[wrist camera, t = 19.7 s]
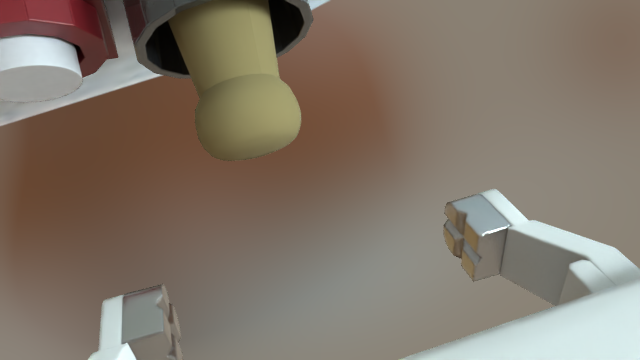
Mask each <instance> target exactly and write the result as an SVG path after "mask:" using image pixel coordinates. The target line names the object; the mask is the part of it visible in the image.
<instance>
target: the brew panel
mask: <svg viewBox="0 0 640 360" xmlns="http://www.w3.org/2000/svg"><path fill="white" fill-rule="evenodd" d="M23 34H36V35H46V36H55V37H60V38H63V39H65V40H67V41H69V42H71V43H72V44H73V45H74V46H75V49H76V53H77V57H78V61H79V66H80V70H81V74H82V78H83V77H86V76H88V75H91V74H93V73H95V72H96V71H97V70H98V69H99V68H100V67H101V65H102V64H103V63H104V62H105V61H106V60H107V59H112V58H118V53H117V49H116V45H115V41H114V36H113V32H112V28H111V24H110V21H109V18H108V14H107V11H106V8H105V4H104V1H103V0H0V37H7V36H15V35H23Z"/></svg>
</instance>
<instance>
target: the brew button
mask: <svg viewBox="0 0 640 360" xmlns="http://www.w3.org/2000/svg"><path fill="white" fill-rule="evenodd" d="M82 82H83V79H82V74H81V70H80V66H79V61H78V57H77V53H76V49H75V46H74V45H73V44H72V43H71V42H69V41H67V40H65V39H63V38H60V37H55V36H46V35H36V34H23V35H15V36H7V37H0V100H3V101H9V102H41V101H47V100H52V99H56V98H60V97H63V96H66V95H68V94H70V93H72V92H74V91H76V90H77V89H78V88H79V87H80V86H81V85H82Z"/></svg>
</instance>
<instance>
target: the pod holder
mask: <svg viewBox="0 0 640 360" xmlns="http://www.w3.org/2000/svg"><path fill="white" fill-rule="evenodd" d="M210 1H213V0H123V4H124V8H125V12H126V16H127V20H128V24H129V28H130V32H131V36H132V40H133V44H134V48H135V53H136V57H137V61H138V62H139V63H140V64H142V65H143V66H145V67H146V68H148V69H149V70H151V71H152V72H154V73H156V74H161V75H166V76H170V77H175V78H191V76H190V74H189V71H188V69H187V66H186V64H185V61H184V59H183V57H182V54H181V52H180V49H179V47H178V44H177V42H176V40H175V37H174V35H173V32H172V30H171V28H170V25H169V23H168V20H169V19H170V18H172V17H173V16H175V15H176V14H178V13H179V12H181V11H184V10H186V9H189V8H192V7H195V6H198V5H201V4H204V3H207V2H210ZM268 3H269V10H270V16H271V23H272V30H273V37H274V44H275V51H276V57H279V56H281V55H283V54H285V53H287V52H288V51H289V50H291V49H292V48H293V47H294V46H295V45H296V44H298V43H299V42H300V41H301V40H302V39H303V38H304V37H305V36H306V34H307V32H308V30H309V28H310V26H311V24H312V22H313V16H312V13H311V9H310V6H309V3H308V0H268Z"/></svg>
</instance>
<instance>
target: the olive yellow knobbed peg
mask: <svg viewBox="0 0 640 360" xmlns="http://www.w3.org/2000/svg"><path fill="white" fill-rule="evenodd" d="M168 23H169V25H170V28H171V30H172V32H173V35H174V37H175V40H176V42H177V44H178V47H179V49H180V52H181V54H182V57H183V59H184V61H185V64H186V66H187V69H188V71H189V74H190V76H191V78H192V81H193V83H194V86H195V88H196V91H197V93H198V95H199V98H200V100H199V102H198V105H197V107H196V109H195V125H196V130H197V135H198V139H199V140H200V142H201V144H202V146H203V148H204V149H205V150H206V151H207V152H208V153H209V154H210V155H211V156H213V157H215V158H217V159H220V160H226V161H235V160H246V159H252V158H257V157H261V156H264V155H267V154H269V153H272V152H274V151H277V150H279V149H281V148H283V147H285V146H286V145H288V144H289V143H291V142H292V141H293V140H294V139H295V138H296V136H297V134H298V132H299V128H300V125H301V111H300V109H299V105H298V102H297V99H296V98H295V96H294V94H293V93H292V91H291V89H290V88H289V86H288V85H286V84H285V83H284V82H283V81H282V80H280V78H279V71H278V64H277V57H276V51H275V44H274V37H273V30H272V23H271V16H270V10H269V3H268V0H213V1H210V2H207V3H204V4H201V5H198V6H195V7H192V8H189V9H186V10H184V11H181V12H179V13H178V14H176V15H175V16H173V17H172V18H170V19H169V20H168Z"/></svg>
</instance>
